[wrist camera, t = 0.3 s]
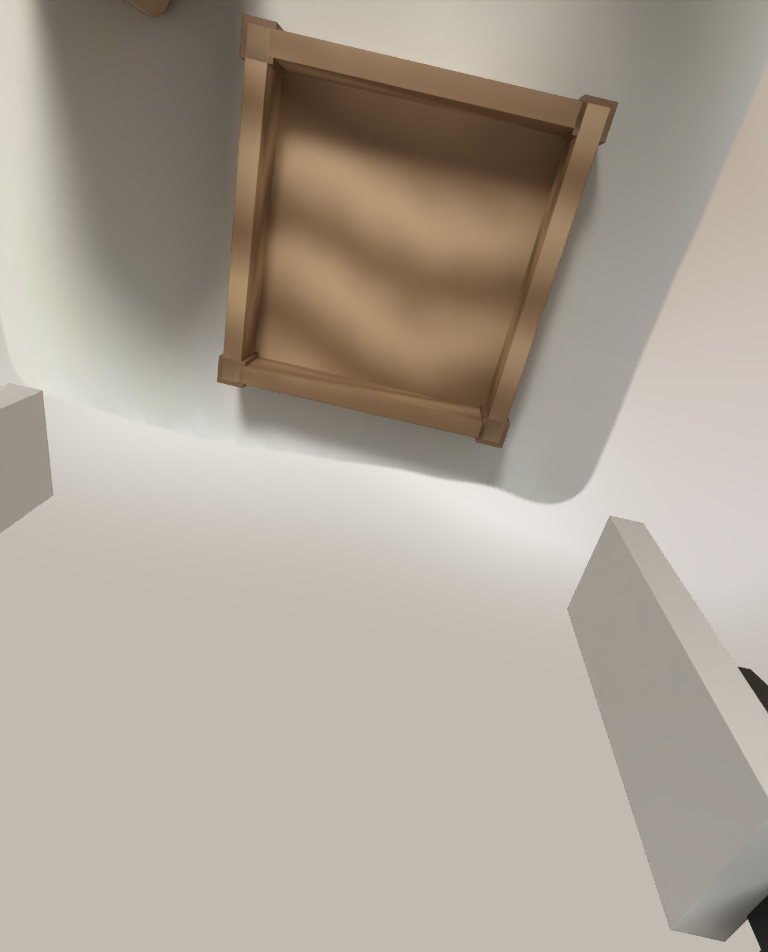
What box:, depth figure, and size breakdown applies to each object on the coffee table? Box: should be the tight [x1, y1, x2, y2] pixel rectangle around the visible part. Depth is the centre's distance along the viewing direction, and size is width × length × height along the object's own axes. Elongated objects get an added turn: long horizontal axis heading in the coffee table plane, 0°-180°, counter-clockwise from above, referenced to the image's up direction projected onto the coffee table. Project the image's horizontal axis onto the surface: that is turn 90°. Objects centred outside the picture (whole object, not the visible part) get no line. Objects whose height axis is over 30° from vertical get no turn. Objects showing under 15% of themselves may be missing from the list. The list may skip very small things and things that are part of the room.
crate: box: [217, 14, 618, 448], centre depth 34 cm, size 20×20×4 cm
